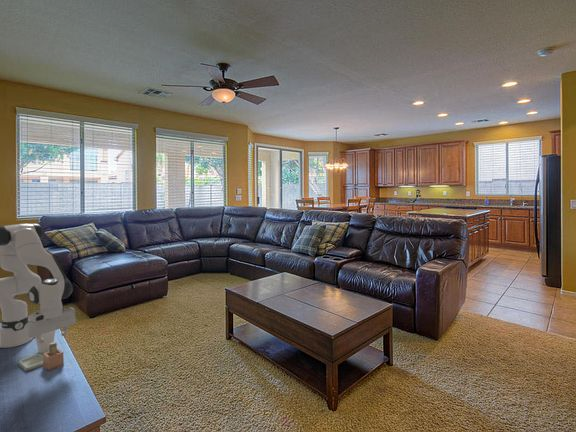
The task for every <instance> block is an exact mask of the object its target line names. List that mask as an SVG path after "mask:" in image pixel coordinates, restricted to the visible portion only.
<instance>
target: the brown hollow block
mask: <svg viewBox="0 0 576 432" xmlns="http://www.w3.org/2000/svg"><path fill="white" fill-rule="evenodd" d="M42 356H43V363H44V365H43V368H44V369H46V371H48V372H50V371H53V370H56V369H58V368H60V367H64V366H65V365H64V364H65V361H64V351H62V350H61V349H59V348H57V354H54V355H52V356H50V353H49V352H46V353H42Z"/></svg>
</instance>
